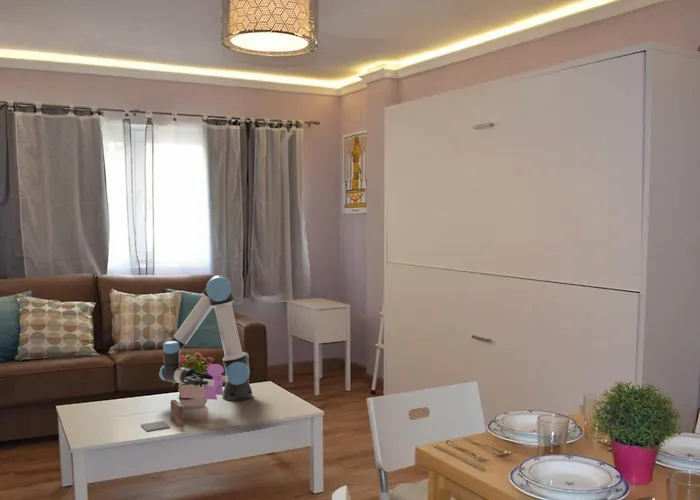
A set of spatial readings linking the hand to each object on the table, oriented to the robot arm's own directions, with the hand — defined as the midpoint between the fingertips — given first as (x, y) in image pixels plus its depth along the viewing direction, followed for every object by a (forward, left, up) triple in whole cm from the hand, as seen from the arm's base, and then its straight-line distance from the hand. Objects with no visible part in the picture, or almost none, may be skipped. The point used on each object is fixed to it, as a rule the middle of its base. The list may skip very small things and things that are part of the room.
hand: (220, 381), depth 305 cm
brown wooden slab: (+19, -3, -17) cm, 26 cm away
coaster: (+29, -2, -17) cm, 34 cm away
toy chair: (+1, -4, -8) cm, 9 cm away
